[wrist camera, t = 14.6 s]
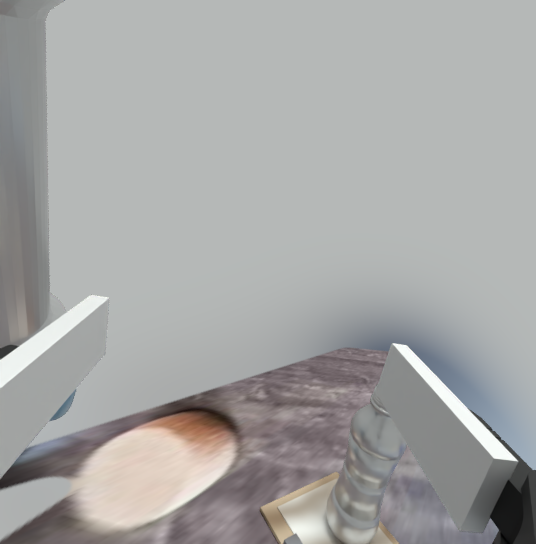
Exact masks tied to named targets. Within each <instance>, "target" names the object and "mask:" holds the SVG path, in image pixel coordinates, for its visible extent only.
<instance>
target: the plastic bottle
mask: <svg viewBox="0 0 536 544" xmlns="http://www.w3.org/2000/svg"><path fill="white" fill-rule="evenodd" d="M377 386H378V384H377V385H376V387H375V389H374V392H373V394H372V396H371V398H370V402H371V403H370V404H368V405H366V406H364V407H363V408H361V409H360V410H358V411H357V412H356V414H355V415H354V416H353V418H352V421H351V426H350V433H349V441H348V448H347V452H346V456H345V461H344V465H343V468H342V470H341V473H340V475H339V478H338V480H337V482H336V484H335V485H334V487H333V488H332V490H331V493H330V495H329V497H328V500H327V510H326V515H327V520H328V523H329V526H330V528H331V530H332V532H333V533H334V535H335V536H336V537H337V538H338V539H339V540H340V541H341V542H342V543H344V544H369V543H370V542H371V541H372V539H373V538H374V536H375V535H376V533H377V531H378V527H379V521H380V509H381V505H382V501H383V496H384V492H385V489H386V487H387V484H388V482H389V480H390V478H391V475H392V473H393V471H394V469H395V467H396V466H397V464H398V462H399V460H400V459H401V457H402V455H403V454H404V451H405V449H406V446H407V443H406V442H405V440H404V438H403V437H402V435H401V433H400V432H399V430H398V428H397V427H396V425H395V423H394V422H393V420H392V418H391V417H390V415H389V413H388V412H387V410H386V408H385V407H384V405H383V403H382V402H381V400H380V398H379V397H378V395H377V393H376V389H377Z"/></svg>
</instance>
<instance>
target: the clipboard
mask: <svg viewBox="0 0 536 544" xmlns="http://www.w3.org/2000/svg"><path fill="white" fill-rule="evenodd" d="M338 478H339V474H338V473H337V472H335V473H333V474H331V475H329V476H327V477H324V478H322V479H320V480H318V481H316V482H314V483H312V484H309V485H307V486H305V487H303V488H301V489H299V490H297V491H294V492H292V493H290V494H288V495H286V496H284V497H282V498H279V499H277V500H275V501H273V502H271V503H269V504H267V505H264V506H262V507H260V512H261V513H262V515H263V517H264V519H265V521H266V522H267V524H268V526H269V528H270V529H271V531H272V533H273V535H274V536H275V538H276V540H277V542H278V543H279V544H344V543H342V542H341V541H340V540H339V539H338V538H337V537H336V536H335V535H334V533H333V532H332V530H331V528H330V526H329V523H328V520H327V515H326V510H327V500H328V497H329V495H330V493H331V490H332V488H333V487H334V485H335V484H336V482H337V480H338ZM369 544H399V543H398V542H397V540H396V539H395V538H394V537H393V536H392V535H391V534H390V532H389V531H388V530H387V529H386V528H385V527H384V526H383V524H382V523H381V522H380V521H379V527H378V531H377V533H376V535H375V536H374V538H373V539H372V541H371V542H370V543H369Z"/></svg>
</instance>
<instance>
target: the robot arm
mask: <svg viewBox="0 0 536 544" xmlns="http://www.w3.org/2000/svg"><path fill="white" fill-rule="evenodd" d="M63 1H65V0H0V479H1V478H2V476H3V475H4V474H5V473H6V472H7V470H8V469H9V468H10V467H11V466H12V464H13V463H14V462H15V461H16V460H17V458H18V457H19V456H20V455H21V454H22V452H23V451H24V450H25V449H26V448H27V446H28V445H29V444H30V443H31V442H32V440H33V439H34V438H35V437H36V436H37V435H38V433H39V432H40V431H41V430H42V429H43V427H44V426H45V425H46V424H47V423H48V421H52V420H56V419H58V418H60V417H62V416H63V415H64V414H65V413H66V412H67V411H68V410H69V408H70V406H71V404H72V402H73V399H74V396H75V392H76V388H77V387H78V386H79V384H80V383H81V382H82V381H83V380H84V378H85V377H86V376H87V375H88V374H89V372H90V371H91V370H92V369H93V368H94V366H95V365H96V364H97V363H98V362H99V361H100V359H101V358H102V357H103V356H104V355H105V350H106V338H107V324H108V311H109V298H108V297H101V296H95V295H90V296H89V297H88V298H86V299H85V300H83V301H82V302H81V303H79V304H78V305H76V306H75V307H74V308H73V309H71V310H69V311H68V312H66V310H65V307H64V305H63V304H62V302H61V301H60V300H59V299H58V298H57V297H56V296H54V295H53V294H52V293H50V286H49V285H50V282H49V219H48V159H47V157H48V156H47V97H46V96H47V94H46V33H45V21H46V18H47V15H48V13H49V11H50V10H51V9H52V8H54V7H56V6H57V5H59V4H60V3H62V2H63ZM376 393H377V395H378V397H379V398H380V400H381V402H382V403H383V405H384V407H385V408H386V410H387V412H388V413H389V415H390V417H391V418H392V420H393V422H394V423H395V425H396V427H397V428H398V430H399V432H400V433H401V435H402V437H403V438H404V440H405V442H406V443H407V445H408V447H409V448H410V450H411V452H412V453H413V455H414V457H415V458H416V460H417V462H418V463H419V465H420V467H421V468H422V470H423V472H424V473H425V475H426V477H427V478H428V480H429V481H430V483H431V485H432V486H433V488H434V490H435V491H436V493H437V495H438V496H439V498H440V500H441V501H442V503H443V505H444V506H445V508H446V510H447V511H448V513H449V515H450V516H451V518H452V520H453V521H454V523H455V525H456V526H457V528H458V530H459V531H462V532H473V533H483V531H484V529H485V527H486V525H487V523H488V521H489V519H490V518H491V519H492V521H493V522H494V523H495V525H496V526H497V527H498V529H499V532H498V533H497V535H496V537H495V539H494V541H493V543H492V544H536V470H532V469H531V468H530V467H529V466H528V465H527V464H526V463H525V462H524V461H523V460H522V459H521V458H520V457H519V456H518V455H517V454H516V453H515V452H514V451H513V450H512V448H511V447H509V445H508V444H507V443H505V441H504V440H501V437H500V436H499V435H498V434H497V433H496V432H495V431H492V429H491V427H490V426H489V425H488V424H487V423H486V422H485V421H484V420H483V419H482V418H481V417H479V416H478V415H476V414H475V413H474V412H472V411H471V410H469V409H468V408H466V407H465V406H464V404H462V402H461V401H460V400H459V399H458V398H457V397H456V396H455V395H454V394H453V393H452V392H451V391H450V390H449V389H448V388H447V387H446V386H445V385H444V384H443V383H442V382H441V381H440V380H439V379H438V377H436V375H435V374H434V373H433V372H432V371H431V370H430V369H429V368H428V367H427V366H426V365H425V364H424V363H423V362H422V361H421V360H420V359H419V358H418V357H417V356H416V355H415V354H414V353H413V352H412V350H411V349H410V348H409V347H408V346H407V345H400V344H394V343H392V345H391V347H390V350H389V353H388V356H387V359H386V362H385V365H384V368H383V371H382V374H381V377H380V380H379V383H378V386H377V389H376Z"/></svg>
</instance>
